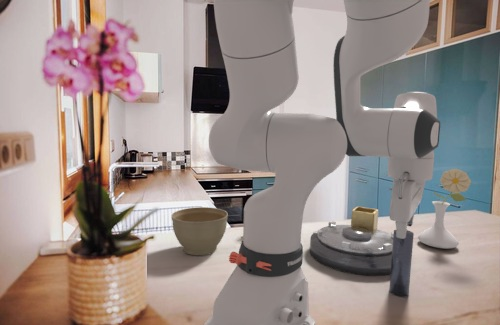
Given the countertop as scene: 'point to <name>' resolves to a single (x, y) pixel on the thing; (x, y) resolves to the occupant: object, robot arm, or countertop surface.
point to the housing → (349, 260)
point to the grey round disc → (358, 235)
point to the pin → (401, 264)
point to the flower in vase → (437, 233)
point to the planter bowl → (199, 229)
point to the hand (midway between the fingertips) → (404, 231)
